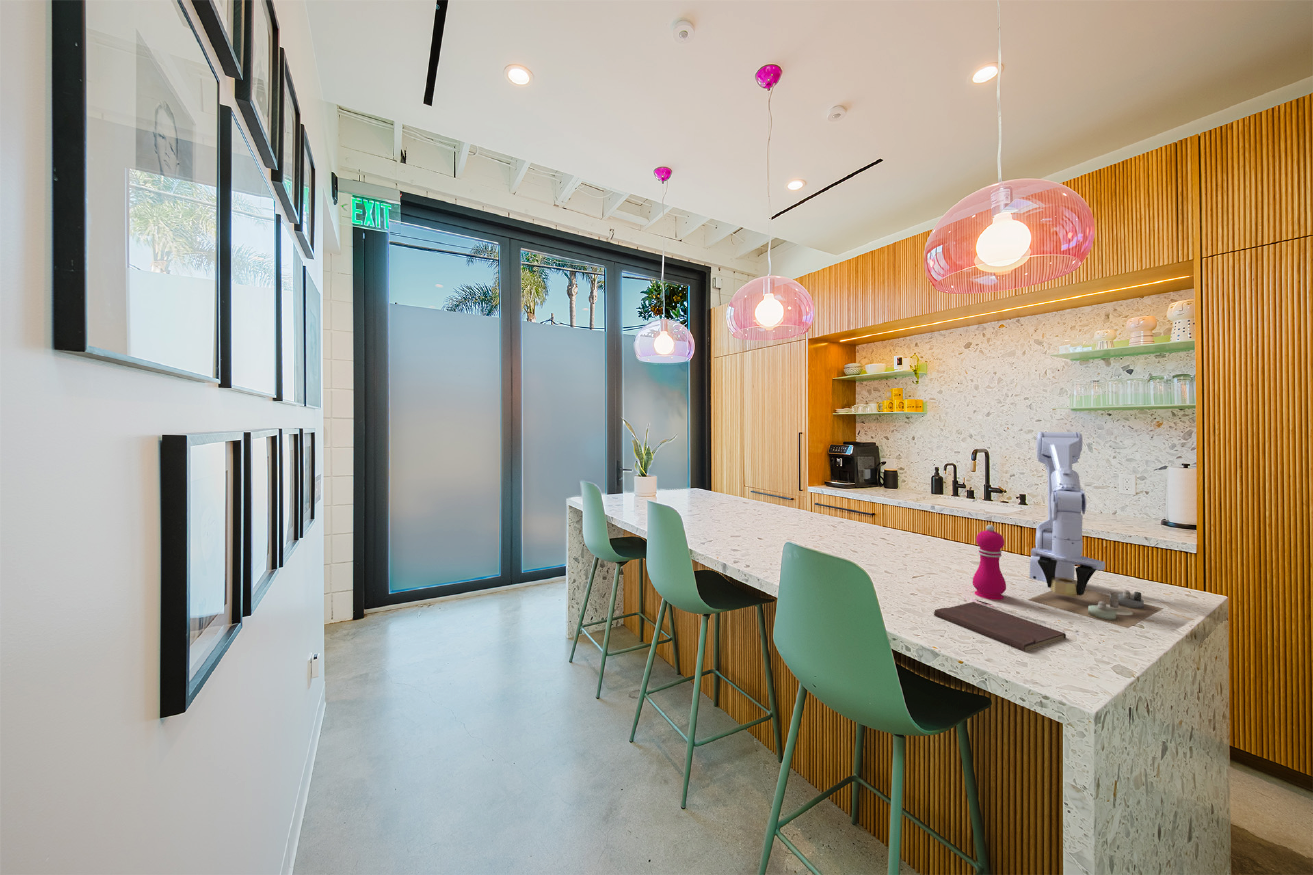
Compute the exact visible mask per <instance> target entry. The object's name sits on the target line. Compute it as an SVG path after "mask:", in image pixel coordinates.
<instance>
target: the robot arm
mask: <svg viewBox="0 0 1313 875" xmlns="http://www.w3.org/2000/svg"><path fill="white" fill-rule="evenodd" d="M1035 444H1036V458H1037V461H1038V462H1040V463H1042V464H1043V465H1044V466H1045V468H1046V472H1047V519H1046V520H1044V521H1042V522H1040V523H1038V525H1037V526H1036V529H1035V547H1033V548H1031V550H1030V554H1031V555H1030V558H1029V579H1032V580H1035V581H1040V582H1043V583H1046V585H1047V588H1049V589H1051V578H1053V577H1064V578H1069V579H1073V580H1075V574H1076V580H1077V595H1083V594H1084V591H1085V589H1086V587H1087V585H1088V583H1089V580H1090V579H1091V578H1092V576H1093V575H1094V573H1095V572H1096V571H1104V570H1105V569H1106V561H1103V560H1098V559H1094V558H1093V557H1092V558H1090V557H1088V556H1083V546H1084V543H1083V542H1084V541H1083V518H1084V517H1083V516H1084V515H1085V513H1086V510H1087V497H1086V493H1085V491H1084V489H1083V488H1082V487H1081V482H1080V476H1079V475H1080V474H1079V473H1078V472H1077V471H1076V470H1074V469H1073V465H1074V464H1077V463H1078V462H1079V459H1080V457H1081V452H1082V450H1083V435H1082V433H1081V432H1079V431H1077V432H1069V431H1068V432H1067V431H1065V432H1059V431H1056V432H1055V431H1052V432H1048V431H1039V432H1038V433H1037V434H1036V443H1035ZM1075 565H1076V566H1077V567H1076V566H1075Z"/></svg>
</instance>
